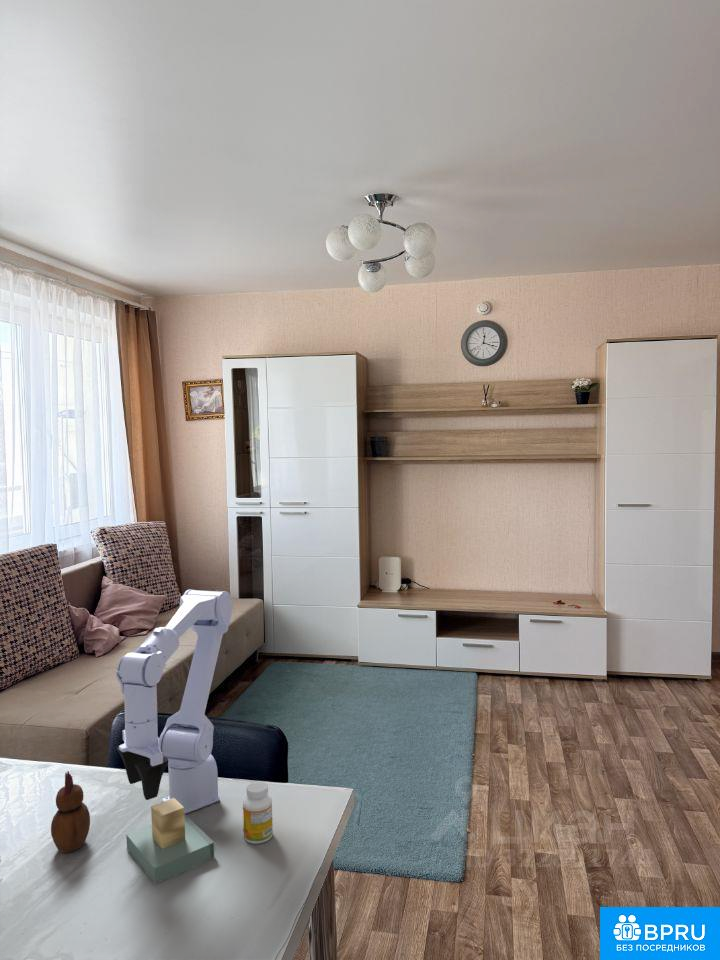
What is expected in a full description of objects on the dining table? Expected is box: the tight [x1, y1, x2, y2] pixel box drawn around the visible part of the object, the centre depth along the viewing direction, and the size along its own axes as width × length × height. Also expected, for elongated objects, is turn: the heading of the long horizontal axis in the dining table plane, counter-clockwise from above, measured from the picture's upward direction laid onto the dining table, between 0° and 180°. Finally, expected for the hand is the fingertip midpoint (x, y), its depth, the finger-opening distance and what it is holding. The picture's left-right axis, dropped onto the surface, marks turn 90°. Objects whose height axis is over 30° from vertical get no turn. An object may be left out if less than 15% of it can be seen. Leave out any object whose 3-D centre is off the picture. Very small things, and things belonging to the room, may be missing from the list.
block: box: [150, 798, 185, 849], centre depth 123 cm, size 4×4×6 cm
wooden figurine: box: [50, 770, 91, 853], centre depth 126 cm, size 7×6×15 cm
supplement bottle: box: [242, 781, 274, 845], centre depth 128 cm, size 5×5×10 cm
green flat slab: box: [125, 814, 215, 884], centre depth 124 cm, size 11×13×3 cm
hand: (143, 789), depth 126 cm, fingers open, 7 cm apart
